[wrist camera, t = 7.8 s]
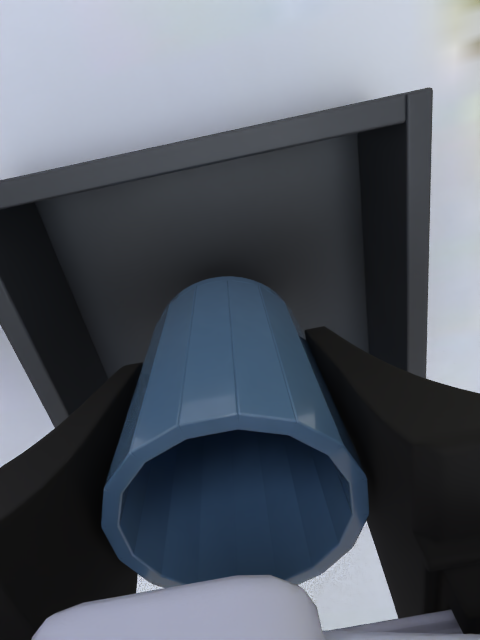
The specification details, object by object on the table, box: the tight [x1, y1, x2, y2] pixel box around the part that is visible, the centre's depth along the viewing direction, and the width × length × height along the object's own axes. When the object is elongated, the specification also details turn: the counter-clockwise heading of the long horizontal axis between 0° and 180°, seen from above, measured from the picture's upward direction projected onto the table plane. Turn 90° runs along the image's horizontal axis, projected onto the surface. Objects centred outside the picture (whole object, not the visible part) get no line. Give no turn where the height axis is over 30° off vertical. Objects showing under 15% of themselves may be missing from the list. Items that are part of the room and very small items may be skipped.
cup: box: [101, 276, 369, 588], centre depth 11 cm, size 5×5×7 cm
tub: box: [0, 88, 433, 428], centre depth 15 cm, size 13×13×4 cm
